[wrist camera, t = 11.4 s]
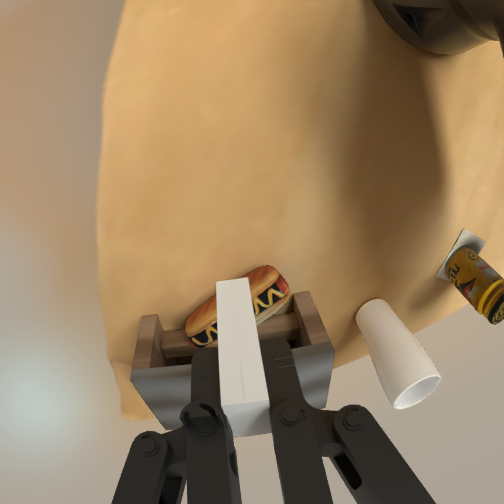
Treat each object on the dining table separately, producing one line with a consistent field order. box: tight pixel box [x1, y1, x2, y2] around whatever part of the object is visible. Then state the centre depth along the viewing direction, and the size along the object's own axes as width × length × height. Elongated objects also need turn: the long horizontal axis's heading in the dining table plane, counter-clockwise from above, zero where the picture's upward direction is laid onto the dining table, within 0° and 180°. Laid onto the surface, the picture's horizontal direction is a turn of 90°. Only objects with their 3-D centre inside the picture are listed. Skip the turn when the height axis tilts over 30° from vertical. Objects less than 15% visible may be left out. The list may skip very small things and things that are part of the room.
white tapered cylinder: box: [356, 299, 441, 409], centre depth 34 cm, size 7×7×15 cm
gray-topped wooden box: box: [130, 291, 335, 430], centre depth 35 cm, size 12×21×10 cm, turn 96°
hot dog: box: [185, 265, 290, 348], centre depth 34 cm, size 5×13×5 cm, turn 126°
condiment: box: [436, 229, 504, 325], centre depth 34 cm, size 7×8×12 cm
